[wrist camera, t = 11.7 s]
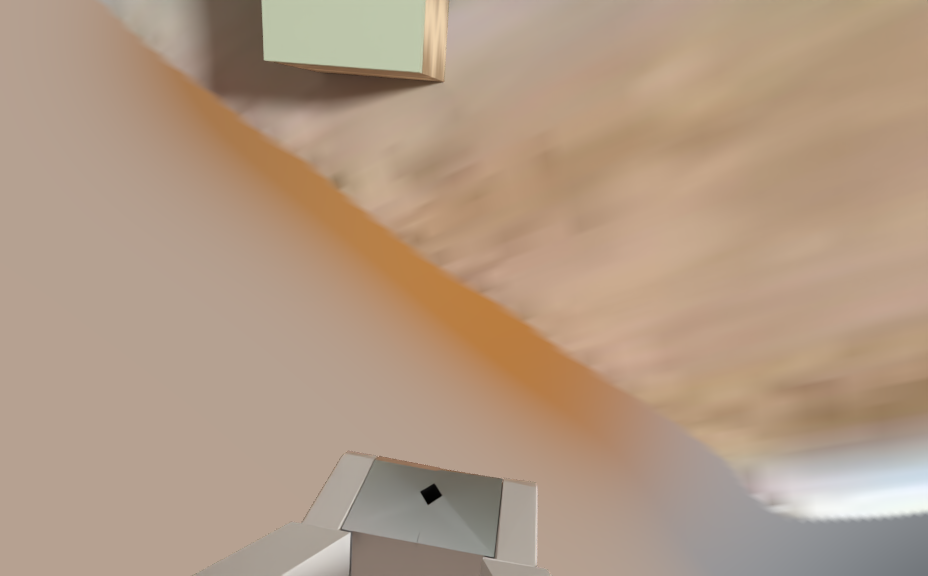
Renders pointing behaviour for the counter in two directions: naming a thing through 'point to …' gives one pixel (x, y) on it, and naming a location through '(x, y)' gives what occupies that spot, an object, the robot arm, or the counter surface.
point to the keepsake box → (431, 50)
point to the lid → (345, 33)
